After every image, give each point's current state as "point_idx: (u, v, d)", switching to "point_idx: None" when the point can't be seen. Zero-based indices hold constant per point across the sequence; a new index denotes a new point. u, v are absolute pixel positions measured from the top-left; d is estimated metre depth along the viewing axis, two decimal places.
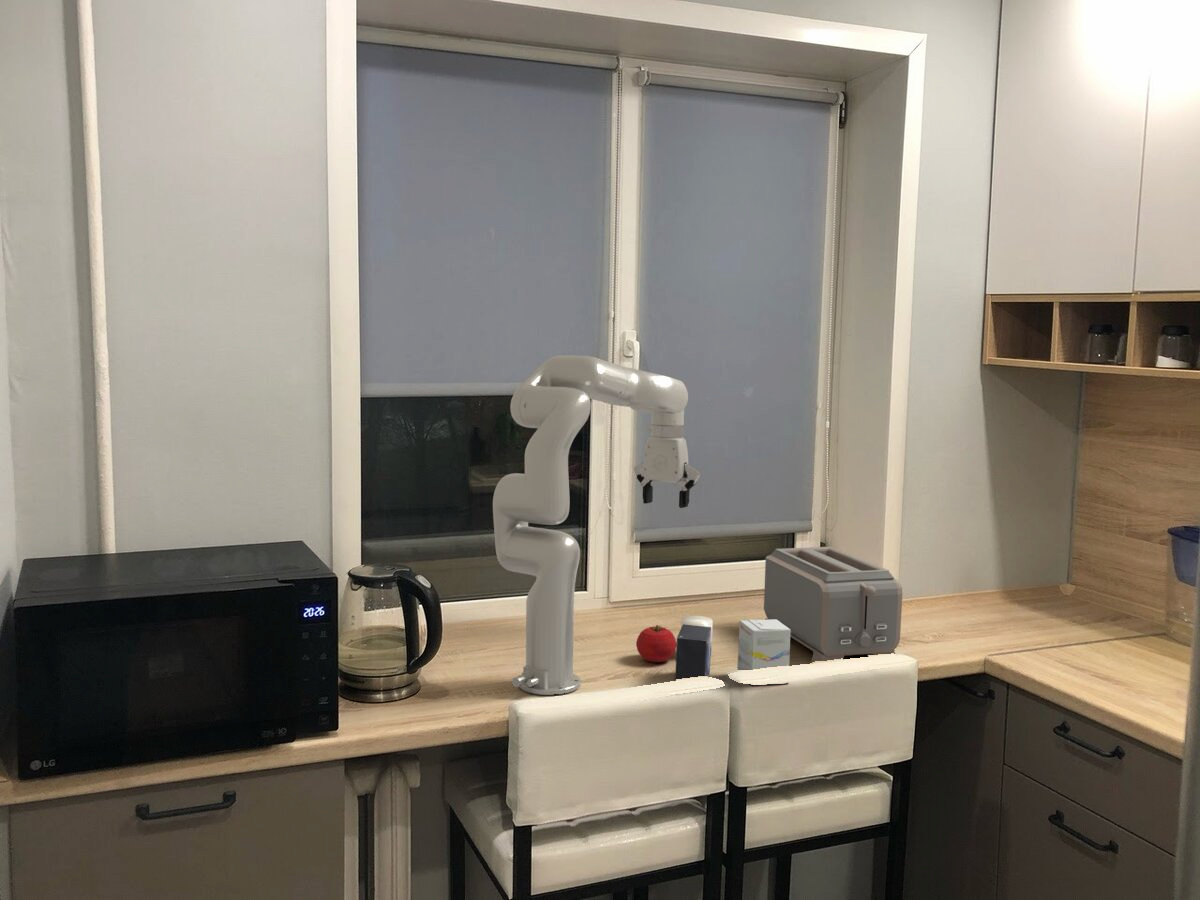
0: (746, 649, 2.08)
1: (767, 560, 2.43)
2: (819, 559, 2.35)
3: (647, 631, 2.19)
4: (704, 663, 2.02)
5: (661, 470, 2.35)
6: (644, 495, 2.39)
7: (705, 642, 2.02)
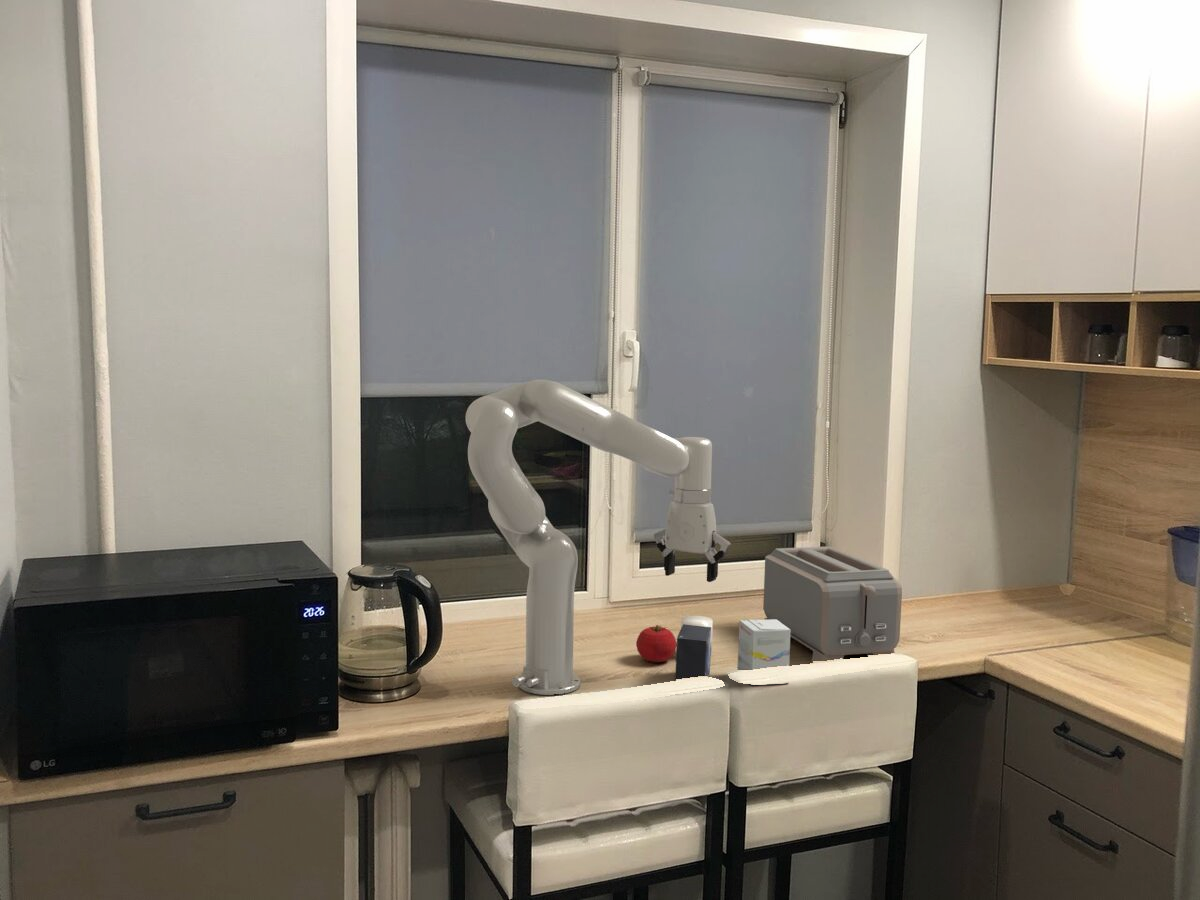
0: (746, 649, 2.08)
1: (767, 560, 2.43)
2: (819, 558, 2.35)
3: (647, 631, 2.19)
4: (704, 663, 2.02)
5: (686, 540, 2.09)
6: (666, 566, 2.13)
7: (705, 642, 2.02)
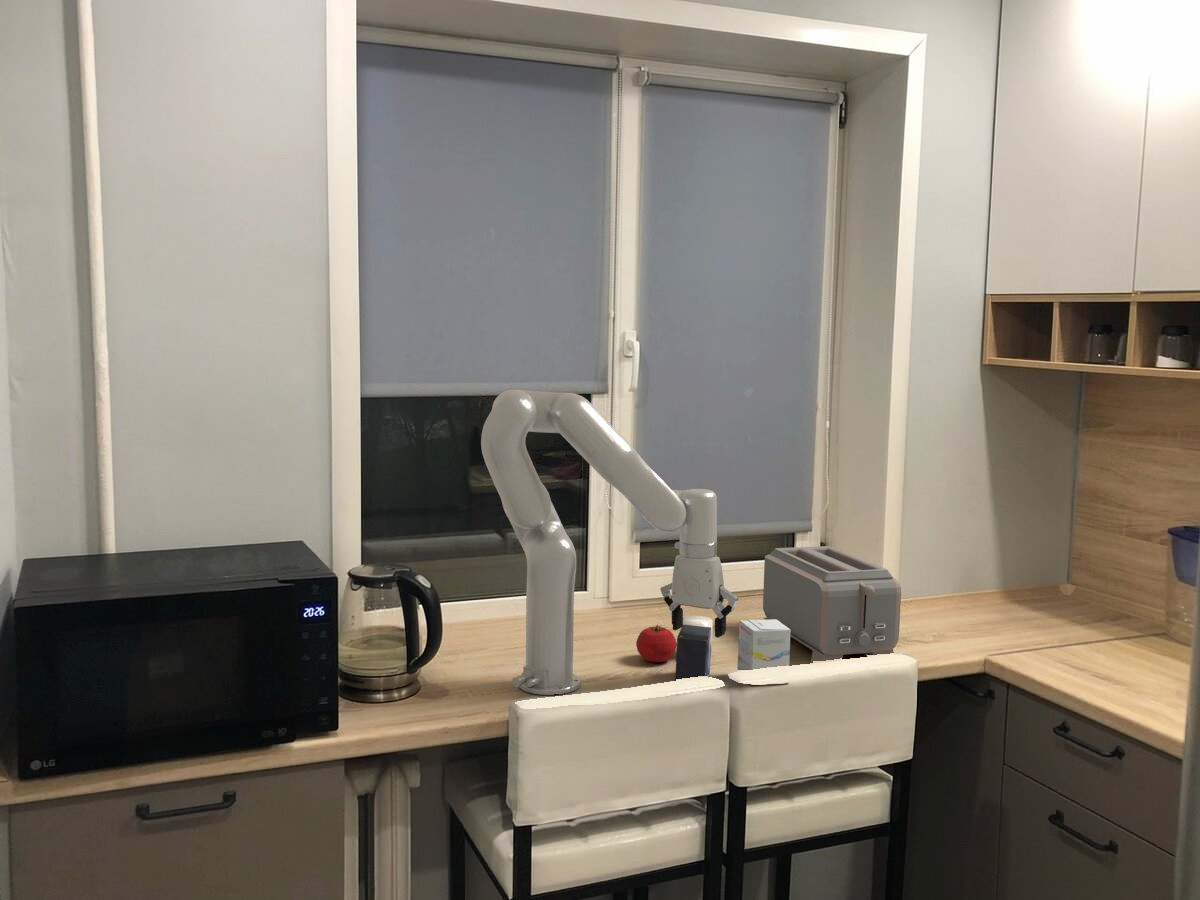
0: (746, 649, 2.08)
1: (766, 559, 2.44)
2: (818, 558, 2.35)
3: (647, 631, 2.19)
4: (704, 663, 2.02)
5: (693, 594, 2.04)
6: (673, 621, 2.09)
7: (705, 642, 2.02)
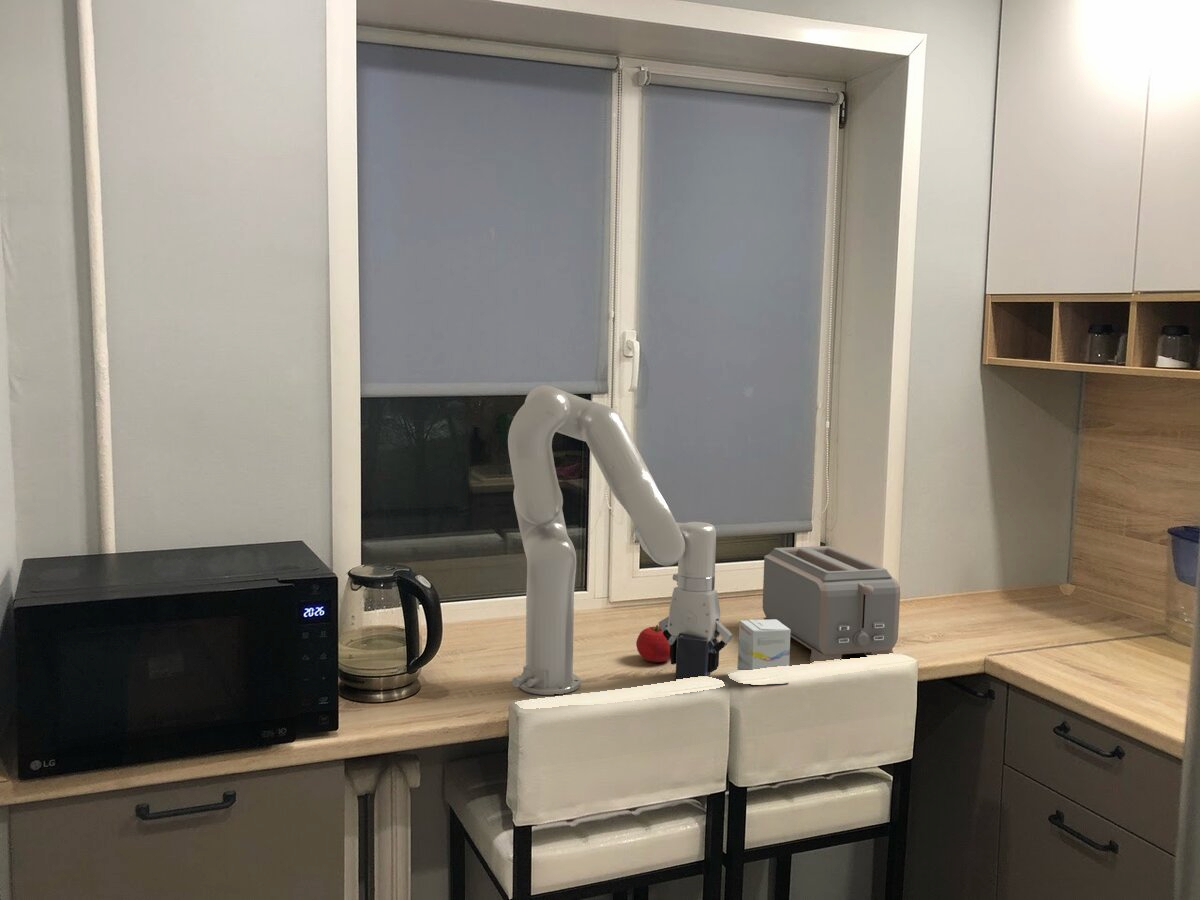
0: (746, 649, 2.08)
1: (766, 559, 2.44)
2: (818, 558, 2.36)
3: (647, 631, 2.19)
4: (704, 663, 2.02)
5: (689, 627, 2.05)
6: (672, 655, 2.09)
7: (705, 642, 2.02)
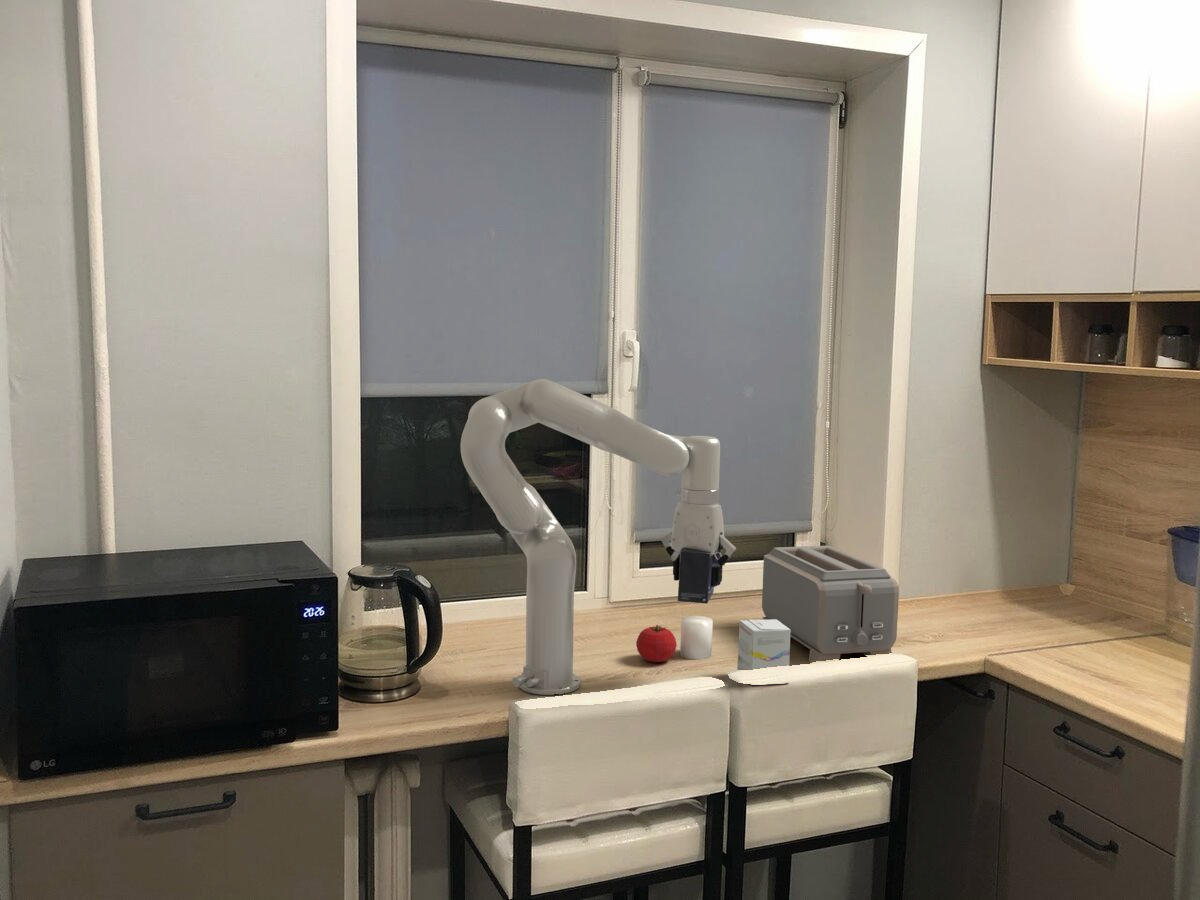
0: (746, 649, 2.08)
1: (765, 559, 2.45)
2: (817, 558, 2.36)
3: (647, 631, 2.19)
4: (707, 576, 2.00)
5: (693, 541, 2.03)
6: (675, 571, 2.07)
7: (708, 555, 2.00)
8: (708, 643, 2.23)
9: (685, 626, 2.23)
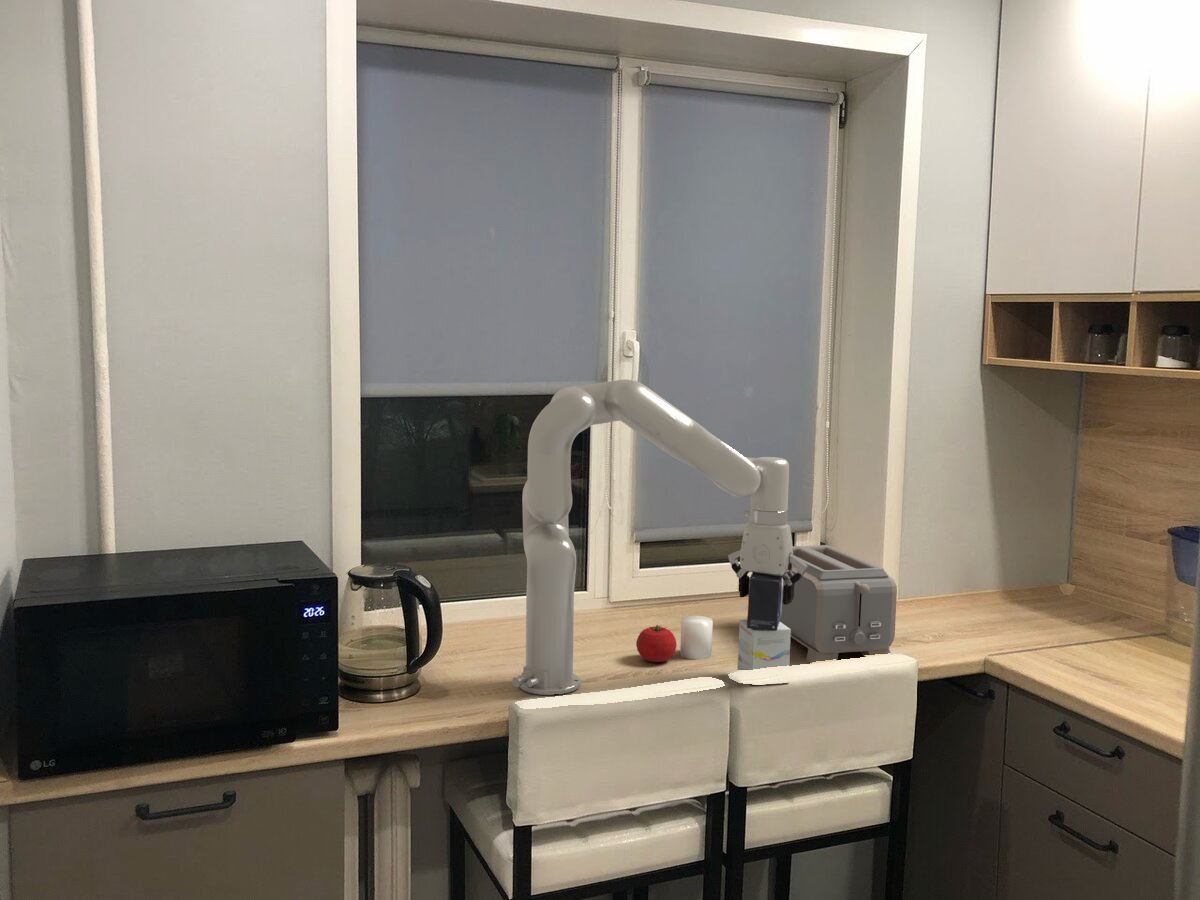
0: (746, 649, 2.08)
1: None
2: (815, 557, 2.37)
3: (647, 631, 2.19)
4: (777, 604, 2.03)
5: (762, 561, 2.05)
6: (741, 588, 2.10)
7: (778, 583, 2.03)
8: (708, 643, 2.23)
9: (685, 626, 2.23)
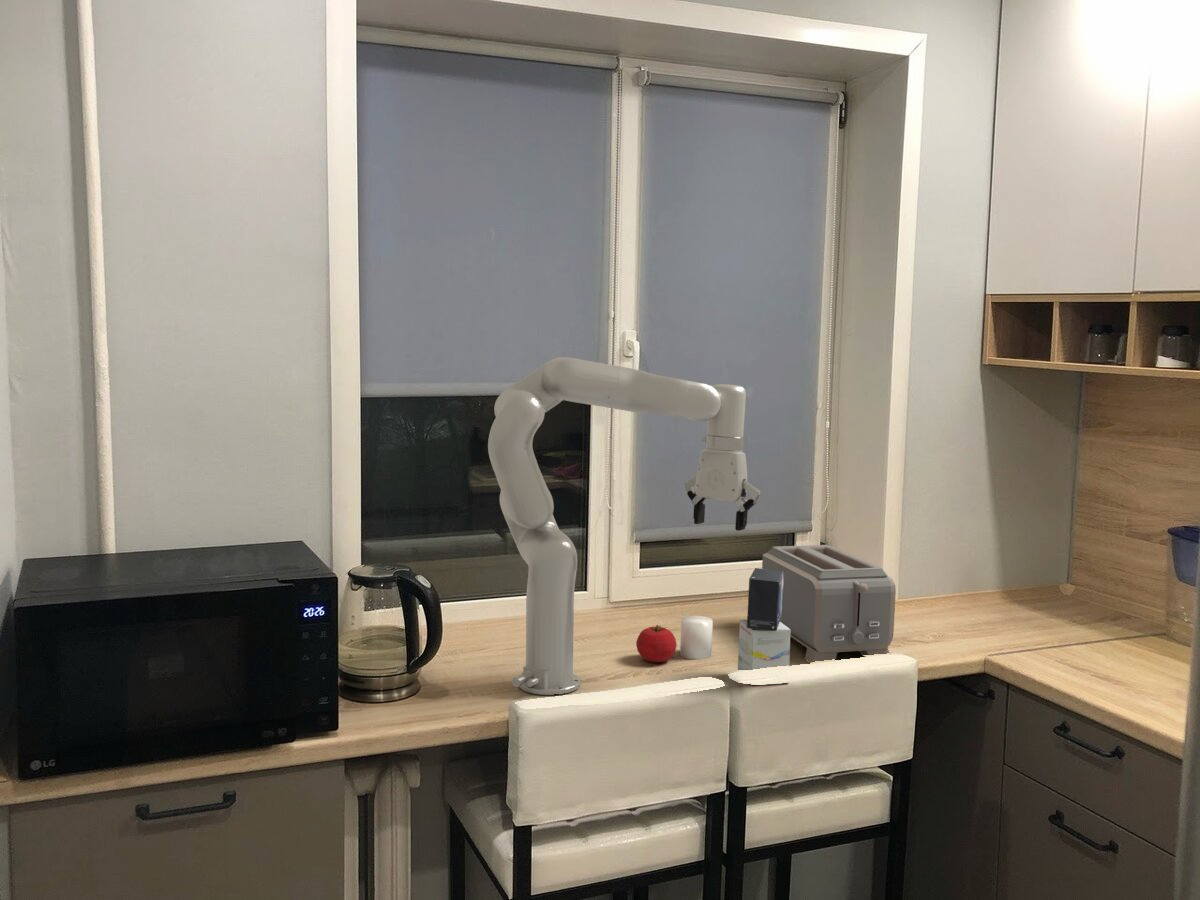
0: (746, 649, 2.08)
1: (764, 558, 2.46)
2: (815, 557, 2.37)
3: (647, 631, 2.19)
4: (776, 604, 2.03)
5: (716, 487, 2.07)
6: (695, 514, 2.11)
7: (778, 583, 2.03)
8: (708, 643, 2.23)
9: (685, 626, 2.23)
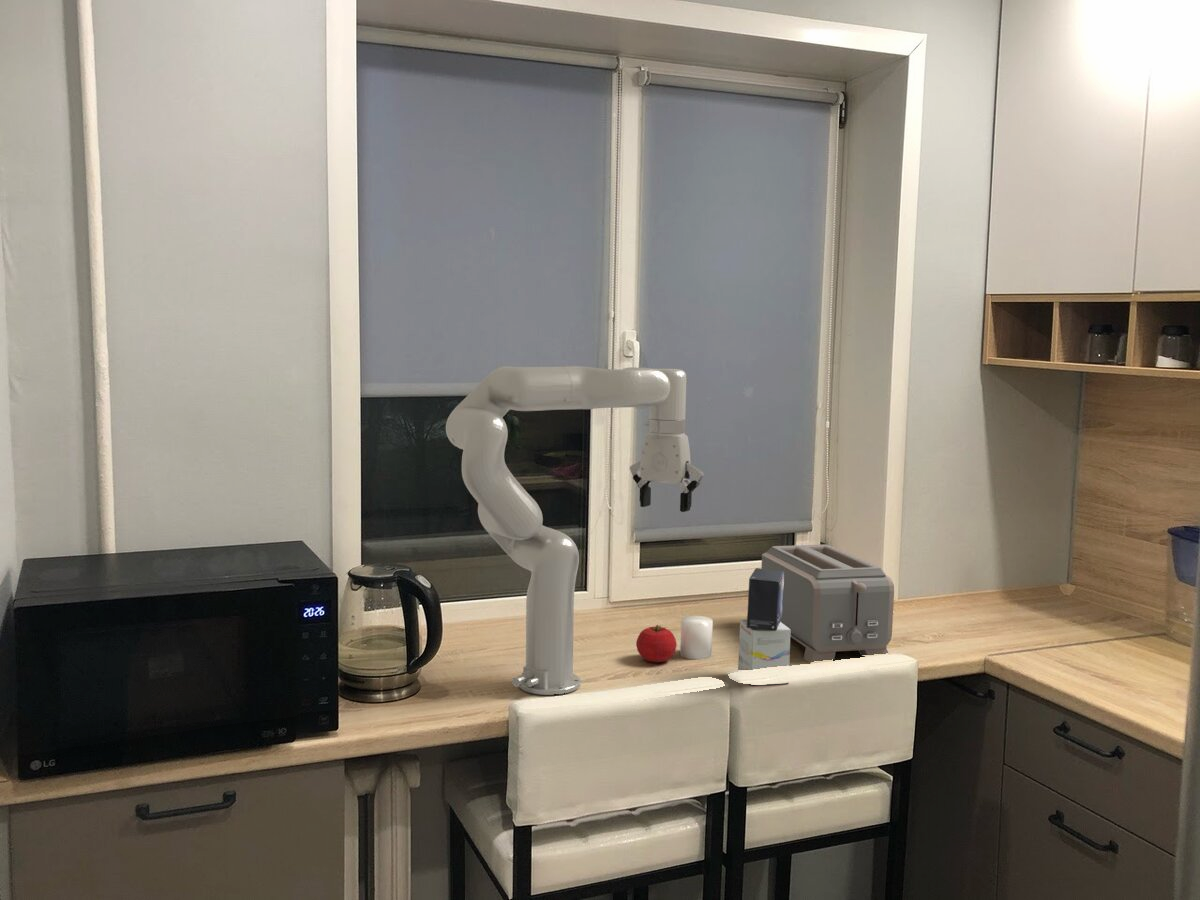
0: (746, 649, 2.08)
1: (763, 557, 2.46)
2: (814, 556, 2.38)
3: (647, 631, 2.19)
4: (776, 604, 2.03)
5: (660, 470, 2.10)
6: (641, 498, 2.15)
7: (778, 583, 2.03)
8: (708, 643, 2.23)
9: (685, 626, 2.23)
